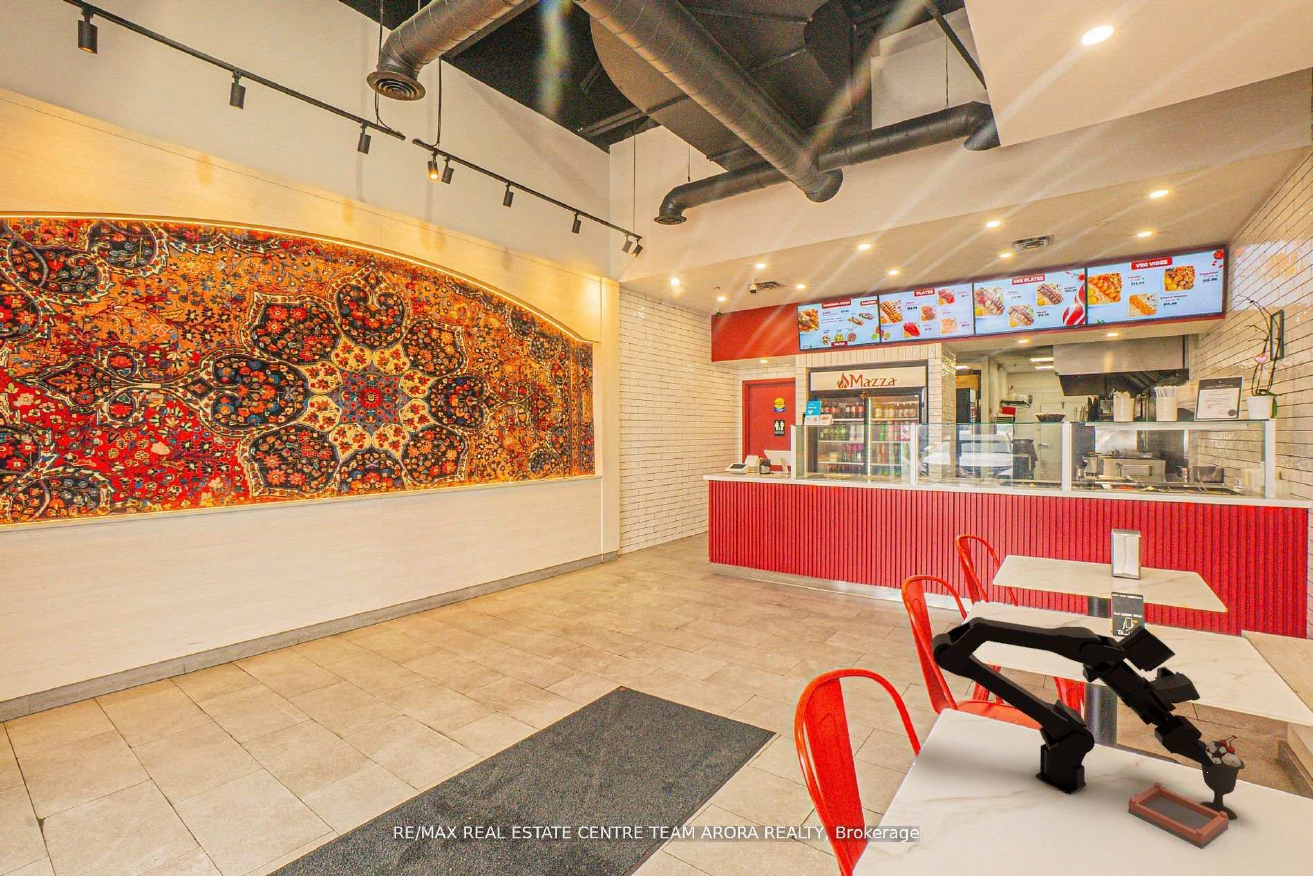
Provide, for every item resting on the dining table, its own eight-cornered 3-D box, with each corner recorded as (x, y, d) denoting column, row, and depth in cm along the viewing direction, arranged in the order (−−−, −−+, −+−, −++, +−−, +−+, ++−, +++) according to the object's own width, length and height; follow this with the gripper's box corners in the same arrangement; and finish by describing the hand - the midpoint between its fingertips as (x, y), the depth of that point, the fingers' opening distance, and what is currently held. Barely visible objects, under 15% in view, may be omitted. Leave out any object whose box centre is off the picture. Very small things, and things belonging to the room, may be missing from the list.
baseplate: (1128, 812, 109) (1128, 798, 109) (1155, 794, 114) (1155, 781, 114) (1202, 848, 100) (1202, 833, 100) (1228, 827, 105) (1228, 813, 105)
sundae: (1254, 825, 105) (1255, 743, 105) (1210, 820, 107) (1212, 739, 106) (1226, 802, 112) (1228, 724, 112) (1185, 797, 113) (1187, 721, 113)
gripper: (1187, 680, 103) (1269, 754, 99) (1145, 642, 120) (1213, 704, 117) (1132, 716, 106) (1209, 790, 102) (1098, 675, 124) (1163, 736, 120)
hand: (1199, 752), depth 110 cm, fingers open, 9 cm apart
